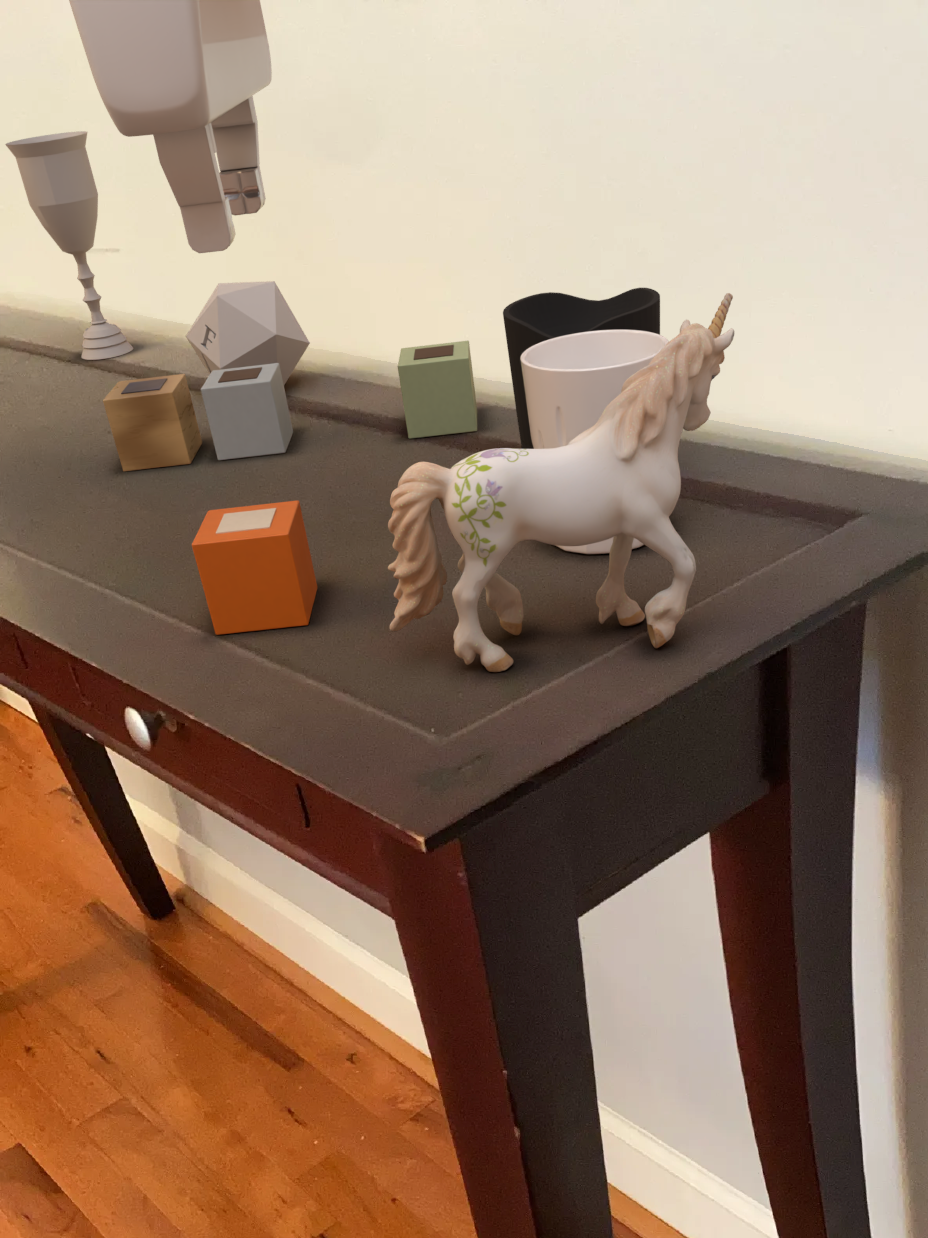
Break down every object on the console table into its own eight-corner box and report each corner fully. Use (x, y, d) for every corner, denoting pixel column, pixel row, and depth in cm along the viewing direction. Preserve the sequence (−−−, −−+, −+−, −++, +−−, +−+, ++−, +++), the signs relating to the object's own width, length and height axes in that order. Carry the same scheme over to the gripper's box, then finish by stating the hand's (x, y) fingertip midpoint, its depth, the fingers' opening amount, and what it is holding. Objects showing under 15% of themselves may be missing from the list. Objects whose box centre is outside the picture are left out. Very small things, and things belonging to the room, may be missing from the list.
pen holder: (575, 508, 77) (562, 331, 71) (492, 474, 83) (473, 310, 77) (695, 467, 81) (692, 295, 74) (607, 438, 87) (597, 278, 81)
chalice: (125, 339, 128) (69, 130, 117) (156, 347, 124) (100, 131, 113) (58, 357, 125) (-7, 144, 114) (87, 366, 120) (22, 145, 109)
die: (212, 391, 111) (148, 309, 102) (286, 318, 110) (228, 230, 101) (266, 442, 107) (205, 363, 98) (342, 367, 107) (288, 281, 98)
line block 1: (123, 471, 92) (102, 399, 89) (137, 450, 96) (118, 380, 93) (190, 463, 92) (171, 391, 89) (202, 442, 96) (184, 372, 93)
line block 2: (217, 460, 92) (199, 387, 89) (228, 439, 96) (211, 369, 93) (285, 453, 92) (270, 379, 89) (293, 432, 96) (278, 361, 93)
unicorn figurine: (807, 610, 62) (818, 317, 54) (442, 720, 57) (393, 414, 49) (730, 564, 68) (730, 291, 60) (390, 661, 63) (338, 377, 55)
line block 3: (408, 438, 92) (397, 364, 89) (411, 418, 96) (400, 347, 92) (477, 431, 91) (468, 356, 88) (477, 411, 95) (468, 339, 92)
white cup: (511, 549, 73) (491, 365, 67) (583, 501, 78) (570, 326, 72) (631, 567, 69) (621, 374, 63) (698, 516, 74) (695, 332, 68)
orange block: (215, 635, 67) (190, 542, 64) (230, 597, 71) (207, 508, 68) (308, 625, 67) (287, 532, 64) (317, 588, 71) (298, 498, 68)
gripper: (126, -147, 57) (203, 201, 66) (-13, -184, 41) (112, 283, 50) (264, -164, 57) (323, 187, 66) (178, -208, 41) (271, 265, 49)
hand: (232, 229), depth 57 cm, fingers open, 8 cm apart
